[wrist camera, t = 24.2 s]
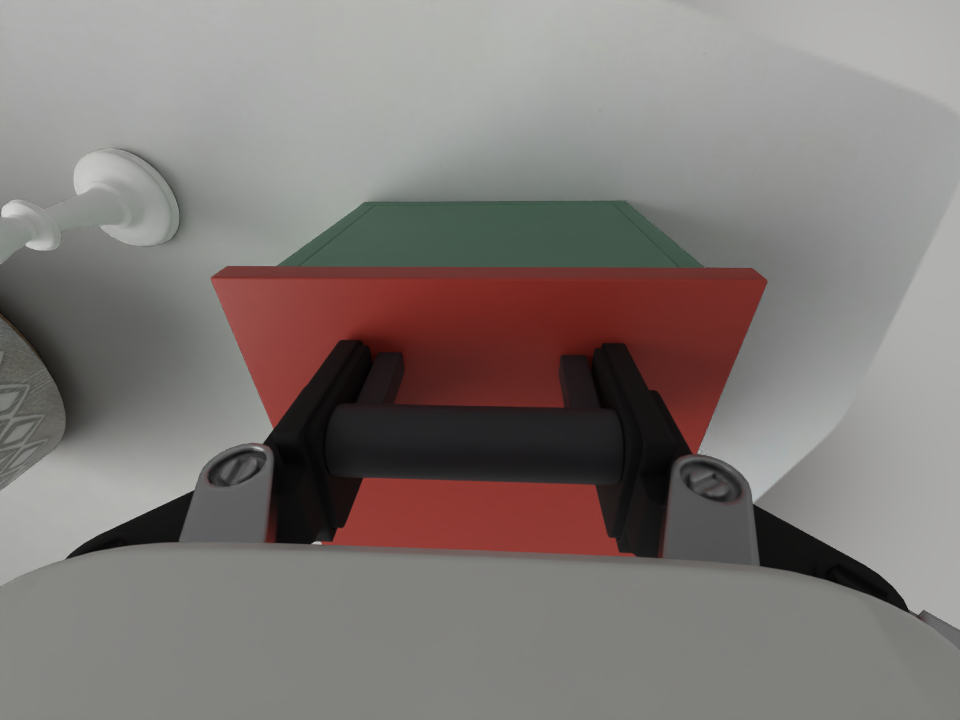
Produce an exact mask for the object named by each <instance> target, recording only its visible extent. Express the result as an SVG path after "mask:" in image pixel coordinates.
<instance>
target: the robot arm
mask: <svg viewBox="0 0 960 720" xmlns="http://www.w3.org/2000/svg"><path fill="white" fill-rule="evenodd" d="M372 365H373V364H372V358H371V352H370V348H369V346H368V345H363V342H362V341H361V340H340V341H339V342H338V343H337V344H336V346H335V347H334V349H333V350H332V351H331V353H330V354H329V355H328V357H327V358H326V360H325V361H324V362H323V364H322V365H321V366H320V368H319V369H318V371H317V372H316V373H315V375H314V376H313V377H312V379H311V380H310V382H309V383H308V384H307V385H306V386H305V387H304V388H303V390H302V391H301V392H300V394H299V395H298V397H297V398H296V399H295V401H294V402H293V403H292V405H291V406H290V407H289V409H288V410H287V412H286V413H285V414H284V416H283V417H282V418H281V420H280V421H279V423H278V424H277V425H276V427H275V428H274V429H273V431H272V432H271V434H270V435H269V436H268V438H267V439H266V440H265V442H264V443H263V444H259V443H248V444H241V445H238V446H235V447H232V448H229V449H227V450H225V451H223V452H221V453H219V454H218V455H217V456H215V457H214V458H212V459H211V460H210V461H209V462H208V463H207V464H206V465H205V466H204V467H203V469H202V471H201V473H200V475H199V478H198V481H197V484H196V487H195V490H194V491H192V492H190V493H187V494H185V495H183V496H181V497H179V498H177V499H175V500H173V501H170V502H168V503H166V504H164V505H162V506H160V507H158V508H156V509H153V510H151V511H149V512H147V513H145V514H143V515H141V516H138V517H136V518H134V519H132V520H130V521H128V522H126V523H124V524H121V525H119V526H117V527H115V528H113V529H111V530H109V531H107V532H104V533H102V534H100V535H98V536H96V537H95V538H93V539H91V540H89V541H87V542H86V543H84V544H83V545H81V546H80V547H79V548H77V549H76V550H75V551H73V552H72V553H71V554H70V555H69V556H68V557H67V558H66V559H65V560H62V561H58V562H55V563H52V564H50V565H47V566H44V567H41V568H39V569H36V570H34V571H31V572H29V573H26V574H24V575H22V576H19V577H17V578H15V579H13V580H11V581H10V582H8V583H6V584H4V585H2V586H1V587H0V720H960V630H958V629H957V628H955V627H953V626H951V625H949V624H948V623H946V622H944V621H942V620H941V619H938V618H937V617H935V616H933V615H931V614H930V613H928V612H926V611H925V610H923V611H922V612H921V613H920V614H919V615H917V614H915V613H913V612H912V611H910V610H908V608H907V606H906V604H905V602H904V600H903V599H902V597H901V596H900V595H899V594H898V592H897V591H896V590H895V589H894V588H893V586H892V585H890V584H889V583H888V582H887V581H886V580H885V579H883V578H882V577H881V576H880V575H879V574H877V573H876V572H874V571H873V570H871V569H870V568H868V567H867V566H865V565H864V564H862V563H860V562H858V561H856V560H854V559H853V558H851V557H849V556H847V555H845V554H844V553H842V552H840V551H838V550H836V549H834V548H833V547H831V546H829V545H827V544H825V543H823V542H822V541H820V540H818V539H816V538H814V537H812V536H810V535H809V534H807V533H805V532H803V531H801V530H800V529H798V528H796V527H794V526H792V525H791V524H789V523H787V522H785V521H783V520H781V519H780V518H777V517H776V516H774V515H772V514H770V513H768V512H767V511H765V510H763V509H761V508H759V507H758V506H756V505H754V504H753V502H752V494H751V489H750V486H749V483H748V482H747V480H746V479H745V478H744V476H743V475H742V474H741V473H740V472H739V471H737V470H736V469H735V468H734V467H732V466H731V465H729V464H727V463H725V462H724V461H722V460H719V459H716V458H714V457H711V456H706V455H700V454H692V452H691V450H690V448H689V446H688V444H687V443H686V441H685V439H684V437H683V435H682V434H681V432H680V430H679V428H678V426H677V424H676V423H675V421H674V419H673V417H672V415H671V414H670V412H669V410H668V408H667V406H666V405H665V403H664V401H663V399H662V397H661V395H660V394H659V393H658V391H656V390H649V389H648V387H647V385H646V383H645V381H644V379H643V377H642V376H641V374H640V372H639V370H638V368H637V366H636V364H635V362H634V360H633V358H632V356H631V354H630V352H629V351H628V349H627V347H626V345H625V344H624V343H603V344H602V346H601V348H595V350H594V353H593V360H592V367H591V374H592V378H593V381H594V385H595V388H596V392H597V395H598V399H599V402H600V406H601V408H607V409H614V410H615V411H616V412H617V413H618V415H619V418H620V421H621V424H622V428H623V434H624V444H625V460H624V469H623V474H622V477H621V480H620V482H619V483H618V484H617V485H595V486H596V490H597V494H598V499H599V503H600V507H601V511H602V515H603V519H604V523H605V527H606V531H607V535H608V537H609V538H615V539H616V543H617V546H618V550H619V553H633V554H634V555H635V556H637V557H626V556H603V555H580V554H557V553H534V552H510V551H485V550H459V549H432V548H405V547H378V546H347V545H316V544H312V543H313V542H315V541H320V542H333V539H334V537H335V534H336V532H337V529H338V528H343V527H344V526H345V524H346V522H347V519H348V517H349V514H350V511H351V509H352V506H353V504H354V501H355V498H356V496H357V493H358V491H359V488H360V486H361V483H362V480H363V478H354V477H335V476H333V475H331V474H330V473H329V471H328V469H327V466H326V462H325V455H324V440H325V433H326V427H327V423H328V420H329V417H330V415H331V413H332V411H333V409H334V408H335V407H336V406H337V405H339V404H341V403H355V402H356V400H357V397H358V395H359V393H360V391H361V389H362V386H363V384H364V382H365V380H366V378H367V376H368V373H369V371H370V369H371V367H372Z"/></svg>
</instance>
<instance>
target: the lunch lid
mask: <svg viewBox="0 0 960 720" xmlns="http://www.w3.org/2000/svg"><path fill="white" fill-rule="evenodd" d="M211 281H212V284H213V286H214V288H215V291H216V293H217V296H218V298H219V300H220V303H221V305H222V307H223V310H224V312H225V315H226V317H227V319H228V322H229V324H230V326H231V329H232V331H233V334H234V336H235V338H236V341H237V343H238V346H239V348H240V350H241V353H242V355H243V357H244V360H245V362H246V365H247V367H248V369H249V372H250V374H251V376H252V379H253V381H254V384H255V386H256V388H257V391H258V393H259V395H260V398H261V400H262V403H263V405H264V407H265V410H266V412H267V414H268V417H269V419H270V422H271V424H272V426H273V429H274V428H275V427H276V425H277V424H278V423H279V421H280V420H281V418H282V417H283V416H284V414H285V413H286V412H287V410H288V409H289V407H290V406H291V405H292V403H293V402H294V401H295V399H296V398H297V397H298V395H299V394H300V392H301V391H302V390H303V388H304V387H305V386H306V385H307V384H308V383H309V382H310V380H311V379H312V377H313V376H314V375H315V373H316V372H317V371H318V369H319V368H320V366H321V365H322V364H323V362H324V361H325V360H326V358H327V357H328V355H329V354H330V353H331V351H332V350H333V349H334V347H335V346H336V344H337V343H338V342H339V341H340V340H361V341H362V342H363V345H368V346H369V348H370V352H371V358H372V364H373V365H372V367H371V369H370V371H369V373H368V376H367V378H366V380H365V382H364V384H363V386H362V389H361V391H360V393H359V395H358V397H357V400H356V402H355V403H341V404H339V405H337V406H336V407H335V408H334V409H333V411H332V413H331V415H330V417H329V420H328V423H327V427H326V433H325V440H324V455H325V462H326V466H327V469H328V471H329V473H330V474H331V475H333V476H335V477H354V478H363V480H362V483H361V486H360V488H359V491H358V493H357V496H356V498H355V501H354V504H353V506H352V509H351V511H350V514H349V517H348V519H347V522H346V524H345V526H344V527H343V528H338V529H337V532H336V534H335V537H334V539H333V542H321V543H322V545H347V546H378V547H405V548H432V549H459V550H485V551H510V552H534V553H557V554H580V555H603V556H626V557H637V556H635V555H634V554H633V553H619V550H618V546H617V543H616V539H615V538H609V537H608V535H607V531H606V527H605V523H604V519H603V515H602V511H601V507H600V503H599V499H598V494H597V490H596V486H595V485H617V484H618V483H619V482H620V480H621V477H622V474H623V469H624V460H625V444H624V434H623V428H622V424H621V421H620V418H619V415H618V413H617V412H616V411H615V410H614V409H607V408H601V406H600V402H599V399H598V395H597V392H596V388H595V385H594V381H593V378H592V374H591V367H592V360H593V353H594V350H595V348H601V346H602V344H603V343H624V344H625V345H626V347H627V349H628V351H629V352H630V354H631V356H632V358H633V360H634V362H635V364H636V366H637V368H638V370H639V372H640V374H641V376H642V377H643V379H644V381H645V383H646V385H647V387H648V389H649V390H656V391H658V393H659V394H660V395H661V397H662V399H663V401H664V403H665V405H666V406H667V408H668V410H669V412H670V414H671V415H672V417H673V419H674V421H675V423H676V424H677V426H678V428H679V430H680V432H681V434H682V435H683V437H684V439H685V441H686V443H687V444H688V446H689V448H690V450H691V452H692V454H697V452H698V450H699V447H700V445H701V442H702V440H703V437H704V435H705V433H706V430H707V428H708V425H709V423H710V421H711V418H712V416H713V413H714V411H715V408H716V406H717V404H718V401H719V399H720V396H721V394H722V391H723V389H724V387H725V384H726V382H727V379H728V377H729V374H730V372H731V370H732V367H733V365H734V362H735V360H736V357H737V355H738V353H739V350H740V348H741V345H742V343H743V340H744V338H745V336H746V333H747V331H748V328H749V326H750V323H751V321H752V319H753V316H754V314H755V311H756V309H757V306H758V304H759V302H760V299H761V297H762V294H763V292H764V290H765V287H766V285H767V279H766V278H764V277H763V276H762V275H761V274H759V273H758V272H757V271H755V270H754V269H753V268H623V267H314V266H227V267H225V268H224V269H222V270H221V271H219V272H218V273H216V274H215V275H214V276H212V277H211Z"/></svg>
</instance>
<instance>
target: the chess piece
mask: <svg viewBox="0 0 960 720" xmlns="http://www.w3.org/2000/svg"><path fill="white" fill-rule="evenodd" d="M74 187H75V191H76V194H77V196H76V197H73V198H71V199H68V200H66V201H63V202H61V203H58V204H56V205H53V206H50V207H48V208H45V209H42V208H40V207H39V206H37V205H36V204H34V203H31V202H29V201H26V200H19V199H17V200H12V201H10V202H8V203H7V204H5V205H4V206H3V208H2V210H1V217H0V265H1V264H2V263H3V262H5V261H6V260H7V259H8V258H9V257H10V256H11V255H12V254H13V253H14V252H16V251H17V250H19V249H20V248H22V247H23V246H24V245H25V246H27V247H29V248H31V249H35V250H39V251H50V250H54V249H56V248H57V247H58V246H59V245H60V243H61V233H60V232H64V231H69V230H74V229H81V228H87V227H94V226H99V227H100V228H101V229H102V230H103V231H105V232H106V233H107V234H109V235H110V236H112V237H114V238H115V239H117V240H119V241H122V242H124V243H127V244H130V245H134V246H142V247H146V246H152V245H158V244H162V243H164V242H167V241H168V240H170V239H171V238H172V237H173V236H174V234H175V233H176V231H177V229H178V225H179V209H178V205H177V202H176V199H175V197H174V194H173V192H172V191H171V189H170V187H169V186H168V184H167V183H166V181H165V180H164V179H163V177H162V176H161V175H160V174H159V173H158V172H157V171H156V170H155V169H154V168H153V167H152V166H151V165H149V164H148V163H147V162H145V161H144V160H142V159H141V158H139V157H137V156H135V155H133V154H131V153H129V152H126V151H123V150H119V149H112V148H107V149H101V150H97V151H95V152H92V153H89V154H87V155H85V156H84V157H82V158H81V159H80V160H79V162H78V163H77V165H76V167H75V170H74Z"/></svg>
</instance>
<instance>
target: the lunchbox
mask: <svg viewBox="0 0 960 720" xmlns="http://www.w3.org/2000/svg"><path fill="white" fill-rule="evenodd" d="M277 266H314V267H623V268H705V267H704V266H702V265H701V264H700V263H699V262H698V261H696V260H695V259H694V258H693V257H692V256H690V255H689V254H688V253H687V252H686V251H684V250H683V249H682V248H681V247H680V246H678V245H677V244H676V243H675V242H674V241H672V240H671V239H670V238H669V237H668V236H666V235H665V234H664V233H663V232H662V231H660V230H659V229H658V228H657V227H656V226H654V225H653V224H652V223H651V222H650V221H648V220H647V219H646V218H645V217H644V216H642V215H641V214H640V213H639V212H638V211H636V210H635V209H634V208H633V207H632V206H630V205H629V203H627V202H626V201H499V202H364V203H363V204H361V205H360V206H359V207H358V208H356V209H355V210H354V211H352V212H351V213H349V214H348V215H347V216H345V217H344V218H343V219H341V220H340V221H338V222H337V223H336V224H334V225H333V226H331V227H330V228H329V229H327V230H326V231H325V232H323V233H322V234H320V235H319V236H318V237H316V238H315V239H313V240H312V241H311V242H309V243H308V244H306V245H305V246H304V247H302V248H301V249H300V250H298V251H297V252H295V253H294V254H293V255H291V256H290V257H288V258H287V259H286V260H284V261H283V262H282V263H280V264H279V265H277Z"/></svg>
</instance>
